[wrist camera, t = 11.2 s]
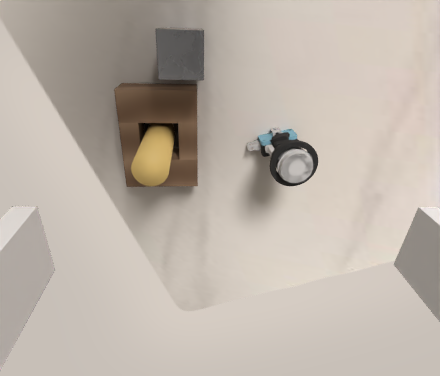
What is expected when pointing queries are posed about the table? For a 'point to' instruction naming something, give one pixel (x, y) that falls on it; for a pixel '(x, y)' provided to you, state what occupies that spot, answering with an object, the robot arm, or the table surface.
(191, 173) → the socket block
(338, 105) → the table surface
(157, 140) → the dowel bit
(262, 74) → the table surface
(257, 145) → the push button
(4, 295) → the robot arm
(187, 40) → the square bar bit
